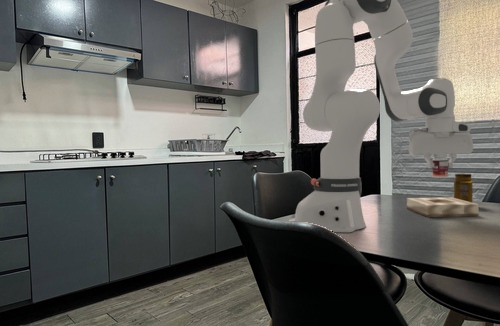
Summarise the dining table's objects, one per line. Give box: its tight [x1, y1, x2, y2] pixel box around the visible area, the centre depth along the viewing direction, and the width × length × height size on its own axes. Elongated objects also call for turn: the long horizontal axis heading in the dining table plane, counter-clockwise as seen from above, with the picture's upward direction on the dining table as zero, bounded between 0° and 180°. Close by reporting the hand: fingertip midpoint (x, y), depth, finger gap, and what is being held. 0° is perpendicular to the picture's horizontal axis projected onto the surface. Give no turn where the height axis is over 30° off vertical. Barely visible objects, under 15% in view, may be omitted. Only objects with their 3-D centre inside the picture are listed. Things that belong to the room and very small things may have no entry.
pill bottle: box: [431, 153, 449, 179], centre depth 119 cm, size 5×5×8 cm
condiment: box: [453, 173, 474, 203], centre depth 131 cm, size 7×8×12 cm
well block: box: [406, 196, 480, 218], centre depth 119 cm, size 16×16×4 cm
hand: (440, 168), depth 119 cm, fingers closed on pill bottle, 5 cm apart
